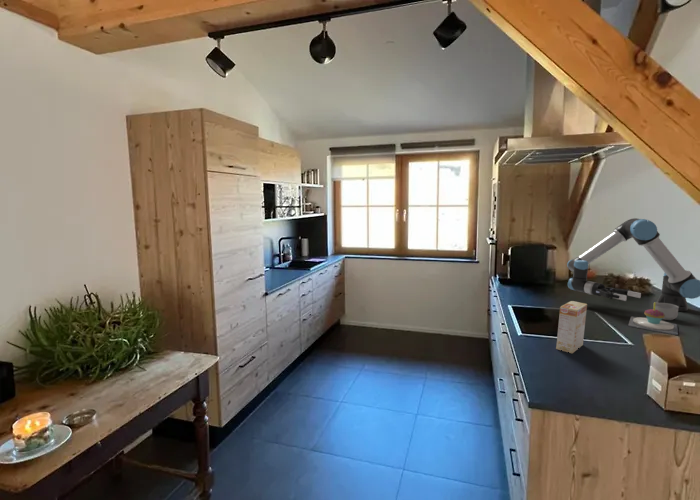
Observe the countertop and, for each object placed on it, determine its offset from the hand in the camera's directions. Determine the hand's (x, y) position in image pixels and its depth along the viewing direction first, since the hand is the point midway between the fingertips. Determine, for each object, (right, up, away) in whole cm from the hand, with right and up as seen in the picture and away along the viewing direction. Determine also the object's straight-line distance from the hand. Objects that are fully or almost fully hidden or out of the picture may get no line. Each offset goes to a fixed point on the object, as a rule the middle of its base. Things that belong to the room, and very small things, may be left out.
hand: (633, 297), depth 211 cm
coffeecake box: (-58, -18, -39) cm, 72 cm away
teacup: (+21, -13, +6) cm, 26 cm away
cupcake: (+4, -13, -8) cm, 16 cm away
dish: (+4, -14, -8) cm, 17 cm away
